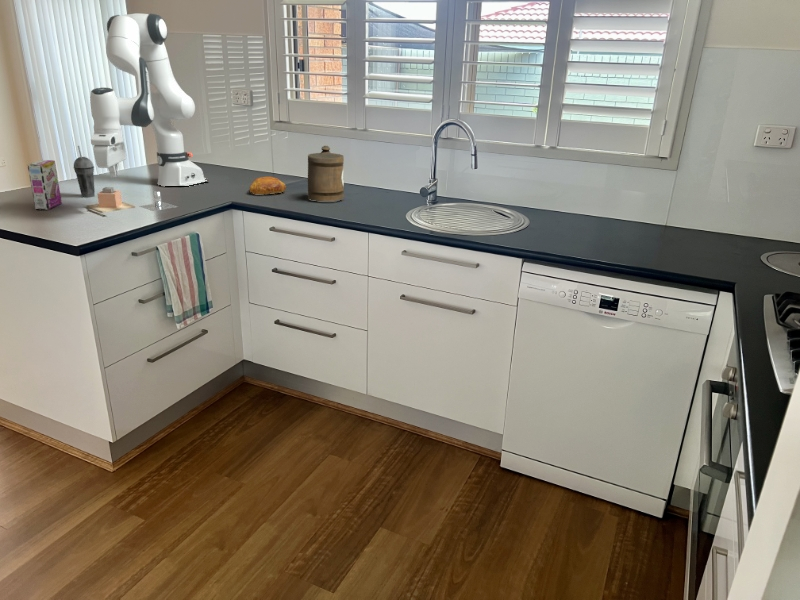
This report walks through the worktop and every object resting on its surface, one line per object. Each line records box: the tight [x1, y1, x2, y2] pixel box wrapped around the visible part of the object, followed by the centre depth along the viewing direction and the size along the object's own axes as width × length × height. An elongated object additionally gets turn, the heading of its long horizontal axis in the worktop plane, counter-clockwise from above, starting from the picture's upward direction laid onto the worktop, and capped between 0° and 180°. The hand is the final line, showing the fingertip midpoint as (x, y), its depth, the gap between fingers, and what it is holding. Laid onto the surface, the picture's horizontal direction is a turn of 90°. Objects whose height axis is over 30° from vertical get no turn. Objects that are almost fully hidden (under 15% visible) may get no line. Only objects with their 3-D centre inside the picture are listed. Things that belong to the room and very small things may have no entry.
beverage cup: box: [73, 145, 96, 199], centre depth 235 cm, size 7×7×20 cm
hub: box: [86, 186, 136, 218], centre depth 217 cm, size 12×12×8 cm
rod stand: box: [138, 190, 178, 212], centre depth 221 cm, size 10×10×7 cm
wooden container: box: [307, 145, 345, 201], centre depth 246 cm, size 15×15×22 cm
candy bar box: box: [27, 159, 63, 211], centre depth 218 cm, size 11×5×16 cm, turn 5°
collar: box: [96, 190, 123, 208], centre depth 217 cm, size 6×6×5 cm
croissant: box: [249, 176, 287, 194], centre depth 257 cm, size 14×16×8 cm
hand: (114, 176), depth 214 cm, fingers closed
